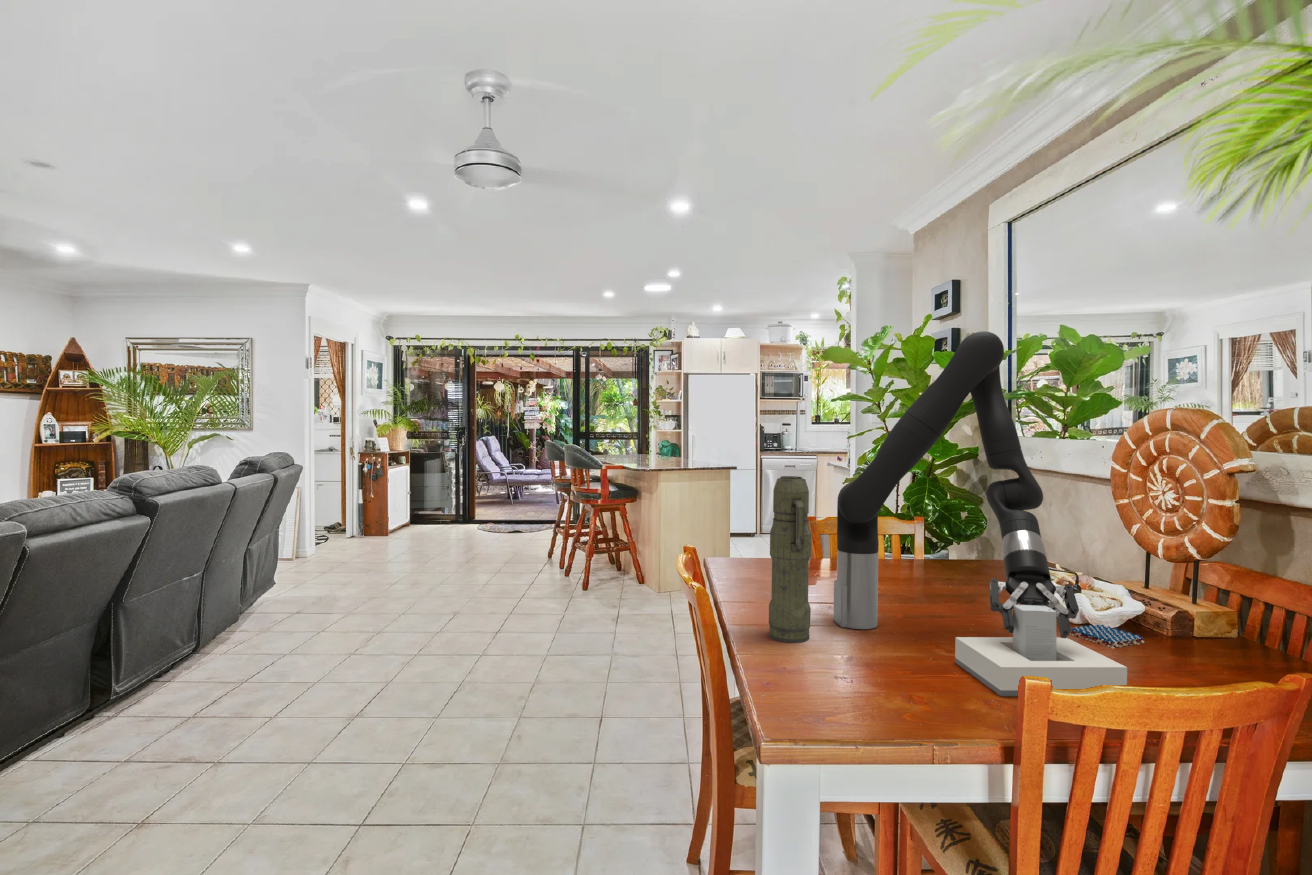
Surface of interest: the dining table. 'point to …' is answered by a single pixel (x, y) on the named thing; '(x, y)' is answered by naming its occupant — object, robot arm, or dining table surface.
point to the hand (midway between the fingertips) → (1037, 633)
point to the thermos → (790, 561)
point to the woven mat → (1106, 636)
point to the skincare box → (1035, 632)
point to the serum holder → (1035, 665)
